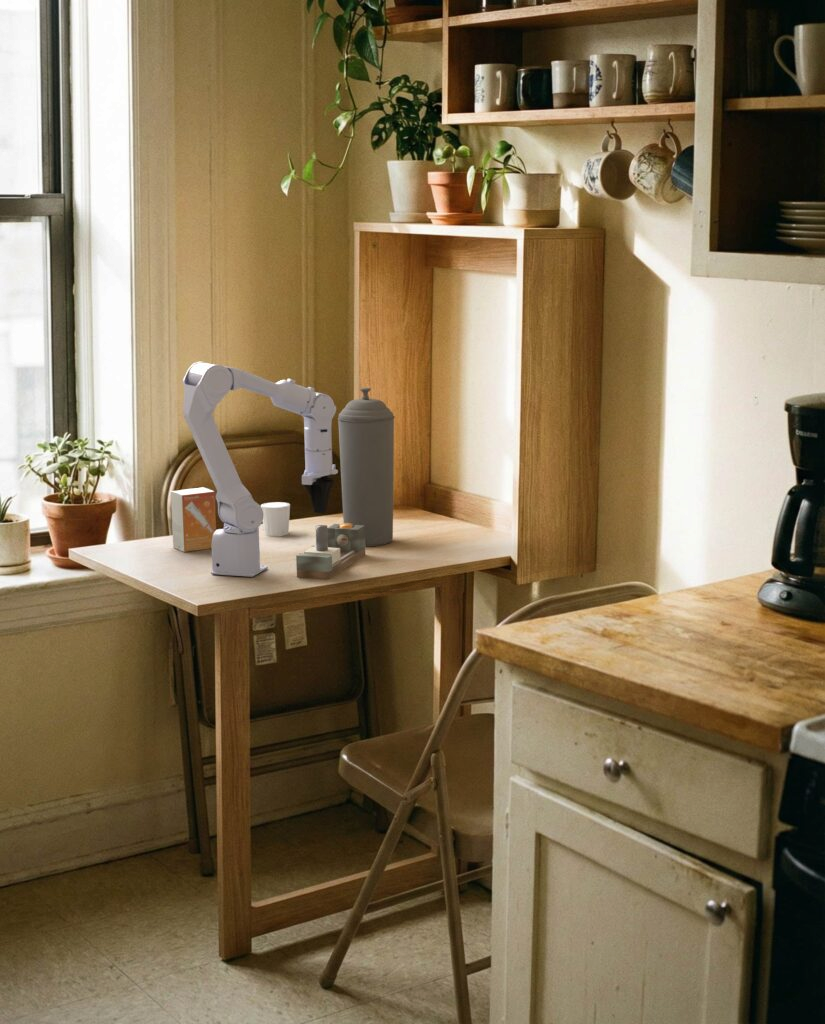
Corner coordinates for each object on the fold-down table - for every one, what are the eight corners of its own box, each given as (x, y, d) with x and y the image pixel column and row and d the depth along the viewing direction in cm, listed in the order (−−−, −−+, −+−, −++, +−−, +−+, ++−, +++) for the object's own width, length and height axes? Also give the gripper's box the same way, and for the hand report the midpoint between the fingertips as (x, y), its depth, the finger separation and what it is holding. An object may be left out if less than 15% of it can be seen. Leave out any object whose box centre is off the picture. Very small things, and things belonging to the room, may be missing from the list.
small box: (184, 552, 299) (181, 494, 296) (172, 547, 304) (169, 490, 302) (217, 547, 303) (215, 490, 301) (205, 542, 309) (203, 486, 306)
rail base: (296, 576, 276) (295, 545, 275) (335, 552, 297) (334, 523, 295) (328, 579, 274) (328, 547, 273) (365, 554, 295) (364, 525, 293)
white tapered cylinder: (275, 529, 322) (274, 500, 320) (297, 532, 318) (296, 503, 316) (255, 534, 316) (254, 505, 315) (277, 538, 312) (276, 508, 311)
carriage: (304, 563, 278) (303, 528, 277) (313, 557, 283) (312, 523, 282) (331, 564, 277) (330, 529, 275) (340, 559, 281) (339, 524, 280)
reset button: (338, 539, 292) (337, 525, 291) (342, 536, 295) (342, 523, 294) (350, 540, 291) (349, 526, 291) (354, 537, 294) (354, 523, 293)
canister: (376, 550, 298) (373, 392, 291) (329, 544, 305) (325, 389, 298) (407, 539, 309) (405, 386, 302) (361, 533, 316) (357, 383, 308)
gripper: (323, 455, 278) (325, 520, 280) (348, 444, 291) (349, 506, 294) (291, 454, 280) (293, 518, 282) (317, 443, 293) (319, 505, 296)
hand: (320, 512), depth 288 cm, fingers closed
